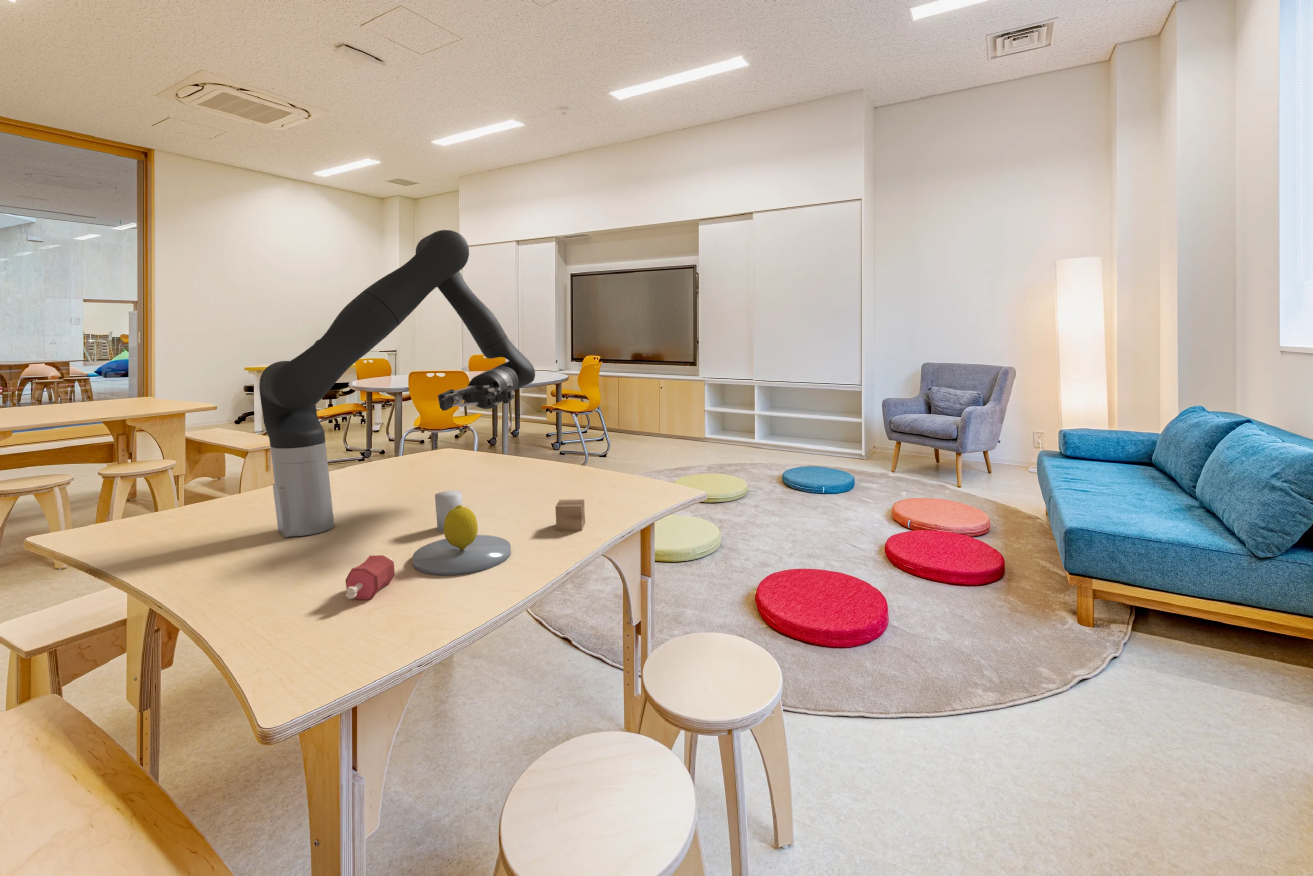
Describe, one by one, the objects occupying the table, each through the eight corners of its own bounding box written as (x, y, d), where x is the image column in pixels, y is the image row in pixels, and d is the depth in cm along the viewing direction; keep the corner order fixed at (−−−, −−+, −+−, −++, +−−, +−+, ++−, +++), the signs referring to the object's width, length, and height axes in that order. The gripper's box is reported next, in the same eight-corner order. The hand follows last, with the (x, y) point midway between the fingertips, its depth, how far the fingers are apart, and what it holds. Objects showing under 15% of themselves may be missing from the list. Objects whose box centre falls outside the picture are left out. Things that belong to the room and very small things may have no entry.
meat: (372, 571, 94) (377, 543, 93) (401, 579, 94) (408, 551, 93) (328, 605, 82) (335, 573, 81) (363, 614, 82) (369, 582, 81)
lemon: (484, 544, 104) (481, 501, 102) (470, 556, 98) (467, 510, 97) (454, 543, 105) (451, 500, 103) (439, 555, 99) (435, 509, 98)
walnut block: (560, 523, 120) (559, 499, 119) (585, 523, 120) (584, 499, 119) (556, 531, 115) (555, 506, 114) (582, 531, 115) (581, 506, 114)
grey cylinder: (443, 533, 114) (441, 498, 113) (433, 528, 118) (430, 493, 116) (468, 528, 117) (466, 494, 116) (457, 522, 121) (455, 489, 120)
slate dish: (435, 583, 90) (435, 576, 90) (399, 556, 102) (398, 549, 102) (528, 557, 101) (527, 550, 101) (485, 535, 113) (484, 529, 113)
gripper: (456, 373, 128) (424, 387, 113) (520, 368, 127) (497, 382, 112) (462, 406, 130) (431, 425, 115) (525, 402, 129) (503, 420, 114)
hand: (464, 404), depth 113 cm, fingers open, 8 cm apart
